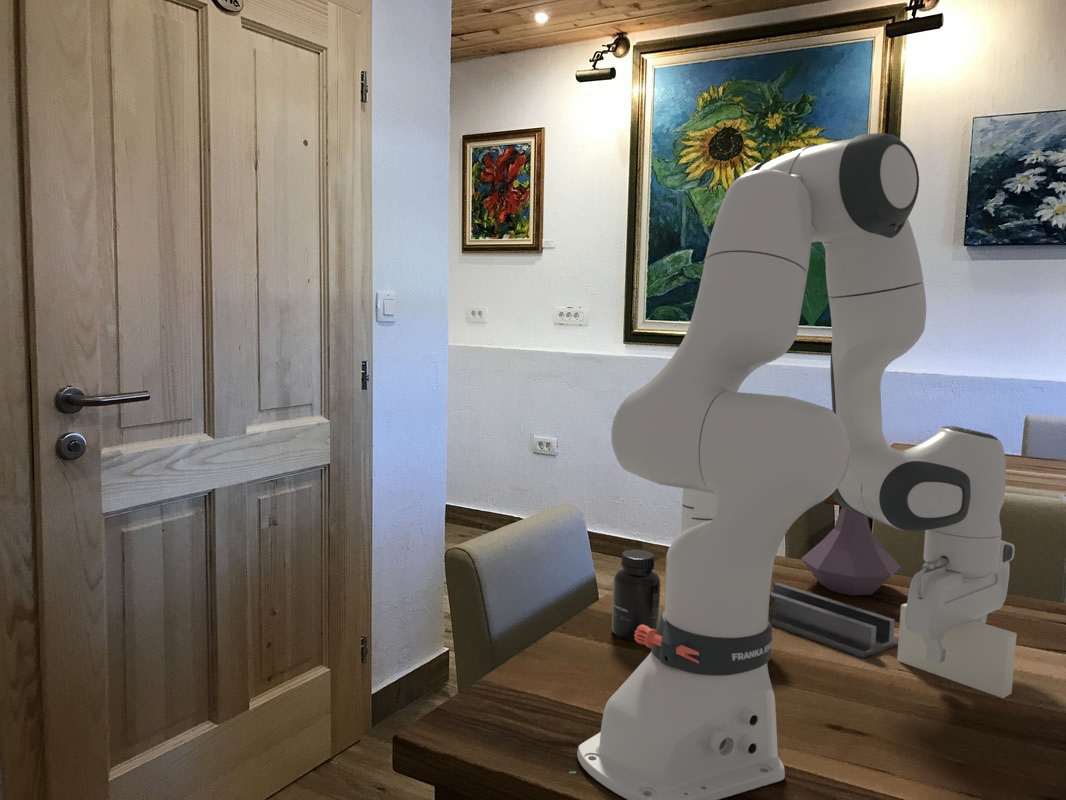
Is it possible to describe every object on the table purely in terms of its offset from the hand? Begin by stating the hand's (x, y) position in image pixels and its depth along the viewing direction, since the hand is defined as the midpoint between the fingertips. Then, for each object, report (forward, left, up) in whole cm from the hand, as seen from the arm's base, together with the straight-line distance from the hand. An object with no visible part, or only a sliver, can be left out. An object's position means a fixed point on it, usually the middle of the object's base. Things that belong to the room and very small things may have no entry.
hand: (953, 653), depth 113 cm
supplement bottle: (-24, +35, -3) cm, 43 cm away
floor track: (0, +20, -3) cm, 20 cm away
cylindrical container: (+6, +49, -3) cm, 49 cm away
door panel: (0, 0, -3) cm, 3 cm away
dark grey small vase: (-16, +21, -3) cm, 27 cm away
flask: (+22, +29, -3) cm, 37 cm away
